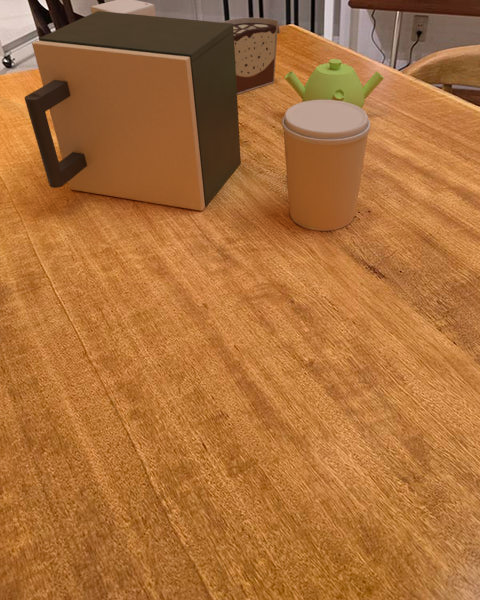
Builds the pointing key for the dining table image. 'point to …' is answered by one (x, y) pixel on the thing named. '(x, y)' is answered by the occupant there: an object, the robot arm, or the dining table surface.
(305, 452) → the dining table surface
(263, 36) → the food container
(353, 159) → the coffee cup
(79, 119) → the door
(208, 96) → the cupboard
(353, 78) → the teapot
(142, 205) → the dining table surface
